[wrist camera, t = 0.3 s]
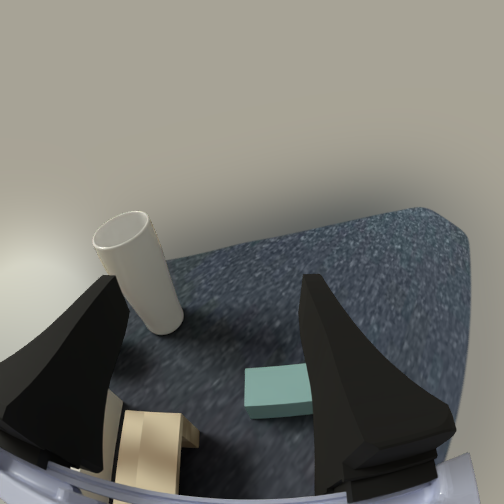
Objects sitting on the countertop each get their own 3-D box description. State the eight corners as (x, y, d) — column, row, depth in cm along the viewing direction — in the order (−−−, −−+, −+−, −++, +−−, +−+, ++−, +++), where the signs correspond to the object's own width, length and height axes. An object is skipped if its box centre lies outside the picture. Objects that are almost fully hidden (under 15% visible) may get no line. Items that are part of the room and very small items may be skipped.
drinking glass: (199, 307, 39) (162, 211, 30) (174, 348, 34) (122, 253, 25) (159, 297, 41) (118, 208, 32) (134, 333, 37) (79, 245, 27)
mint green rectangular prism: (370, 405, 25) (378, 390, 23) (251, 419, 26) (244, 406, 24) (363, 372, 28) (369, 353, 26) (251, 385, 30) (245, 368, 27)
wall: (107, 512, 18) (75, 505, 14) (92, 507, 18) (59, 499, 15) (123, 401, 29) (98, 379, 25) (109, 400, 29) (84, 378, 25)
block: (196, 519, 18) (174, 518, 15) (142, 511, 19) (112, 506, 15) (199, 431, 26) (180, 413, 22) (150, 428, 26) (125, 410, 23)
